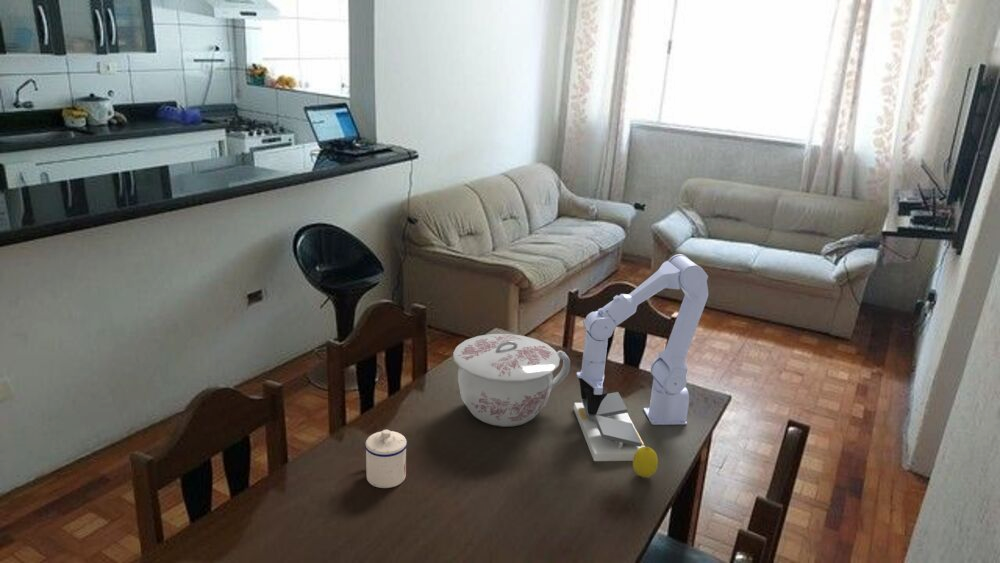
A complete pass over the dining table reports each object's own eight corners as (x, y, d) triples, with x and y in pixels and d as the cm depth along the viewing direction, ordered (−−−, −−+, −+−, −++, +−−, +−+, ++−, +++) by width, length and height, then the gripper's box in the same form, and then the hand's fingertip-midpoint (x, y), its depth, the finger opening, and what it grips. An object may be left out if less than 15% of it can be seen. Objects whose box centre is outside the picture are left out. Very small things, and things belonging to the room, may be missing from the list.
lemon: (655, 486, 156) (660, 455, 154) (630, 482, 157) (634, 451, 155) (655, 472, 162) (659, 442, 159) (631, 468, 163) (635, 438, 160)
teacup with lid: (414, 480, 154) (414, 435, 150) (376, 494, 149) (376, 447, 145) (389, 454, 163) (388, 410, 159) (352, 466, 158) (351, 421, 154)
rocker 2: (628, 428, 175) (631, 422, 175) (639, 450, 166) (642, 444, 166) (592, 419, 173) (594, 413, 173) (601, 441, 164) (603, 435, 164)
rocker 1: (618, 396, 186) (617, 391, 185) (628, 415, 177) (627, 409, 176) (581, 403, 185) (581, 397, 185) (589, 422, 176) (588, 416, 176)
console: (620, 408, 188) (622, 398, 187) (647, 460, 166) (649, 448, 165) (573, 409, 187) (574, 398, 186) (594, 461, 164) (595, 449, 163)
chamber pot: (432, 424, 176) (434, 350, 169) (476, 379, 200) (479, 312, 193) (537, 452, 167) (543, 375, 160) (570, 401, 191) (576, 332, 184)
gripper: (572, 346, 182) (568, 392, 186) (584, 371, 168) (579, 420, 173) (599, 346, 183) (594, 392, 187) (613, 371, 169) (607, 420, 174)
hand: (588, 405), depth 180 cm, fingers open, 7 cm apart
